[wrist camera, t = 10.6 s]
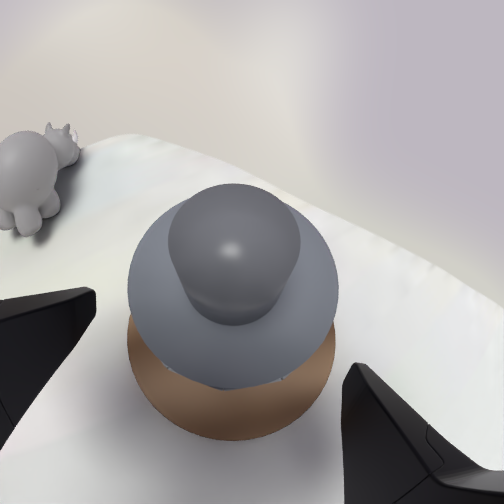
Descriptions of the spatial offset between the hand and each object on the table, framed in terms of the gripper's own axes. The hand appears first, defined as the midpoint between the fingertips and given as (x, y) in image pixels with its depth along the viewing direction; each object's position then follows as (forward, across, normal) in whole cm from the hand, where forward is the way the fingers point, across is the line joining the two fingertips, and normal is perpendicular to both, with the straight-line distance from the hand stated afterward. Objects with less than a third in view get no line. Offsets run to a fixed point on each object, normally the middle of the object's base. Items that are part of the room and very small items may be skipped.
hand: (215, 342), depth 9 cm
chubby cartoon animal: (+14, +21, +1) cm, 25 cm away
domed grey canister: (+8, 0, +5) cm, 10 cm away
